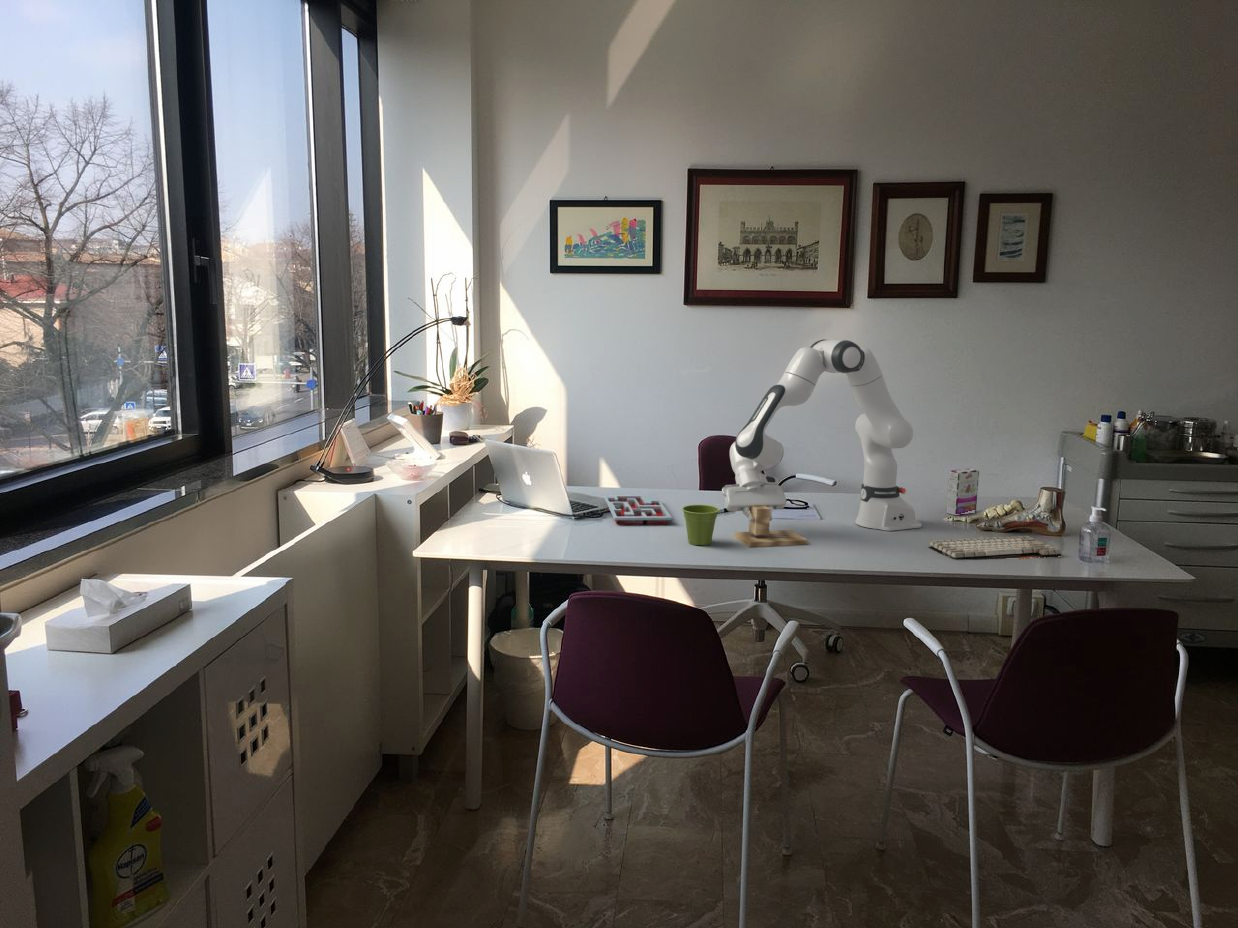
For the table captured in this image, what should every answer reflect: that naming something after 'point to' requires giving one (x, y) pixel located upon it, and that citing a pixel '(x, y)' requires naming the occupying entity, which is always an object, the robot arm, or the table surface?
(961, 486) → the candy bar box
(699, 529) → the plant pot
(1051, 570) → the table surface
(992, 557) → the mechanical keyboard
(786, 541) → the board
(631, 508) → the maze game
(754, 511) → the block
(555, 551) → the table surface
